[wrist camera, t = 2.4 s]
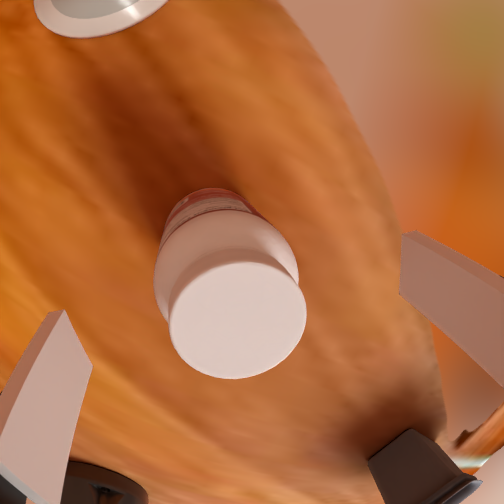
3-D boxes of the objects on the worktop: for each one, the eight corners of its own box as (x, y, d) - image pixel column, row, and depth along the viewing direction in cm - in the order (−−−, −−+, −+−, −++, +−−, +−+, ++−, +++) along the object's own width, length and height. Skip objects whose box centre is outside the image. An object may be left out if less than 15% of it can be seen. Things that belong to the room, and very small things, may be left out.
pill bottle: (259, 272, 22) (321, 379, 12) (170, 281, 21) (165, 403, 11) (257, 182, 20) (334, 228, 9) (159, 190, 19) (128, 248, 8)
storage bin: (448, 435, 42) (486, 482, 29) (386, 484, 44) (416, 534, 30) (417, 409, 34) (472, 479, 21) (332, 474, 36) (368, 548, 22)
